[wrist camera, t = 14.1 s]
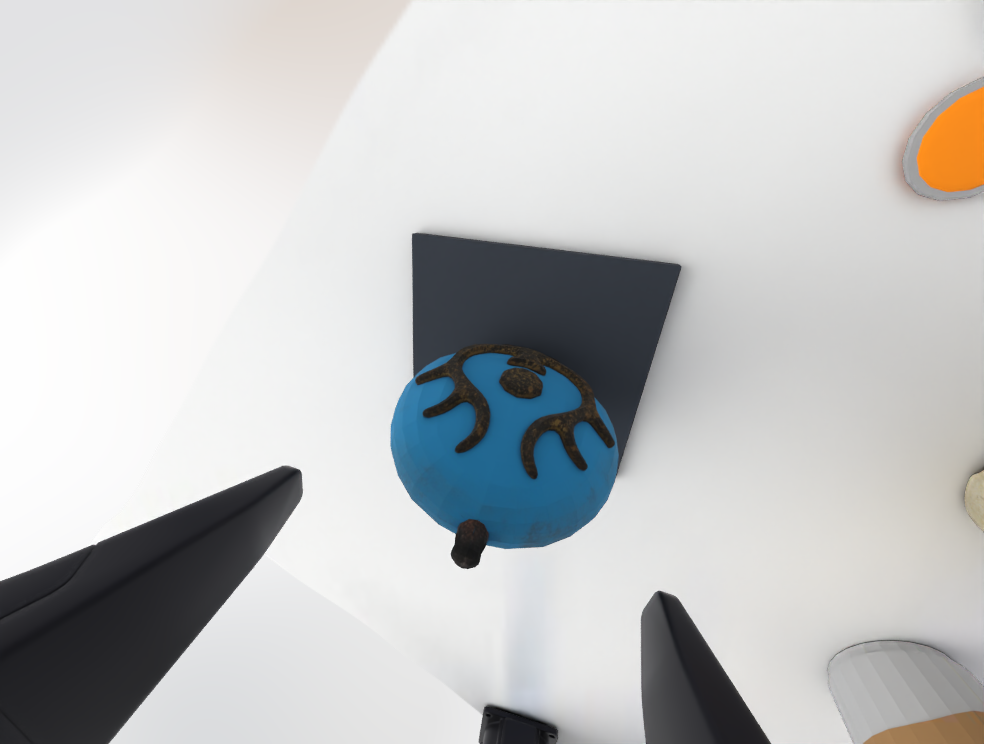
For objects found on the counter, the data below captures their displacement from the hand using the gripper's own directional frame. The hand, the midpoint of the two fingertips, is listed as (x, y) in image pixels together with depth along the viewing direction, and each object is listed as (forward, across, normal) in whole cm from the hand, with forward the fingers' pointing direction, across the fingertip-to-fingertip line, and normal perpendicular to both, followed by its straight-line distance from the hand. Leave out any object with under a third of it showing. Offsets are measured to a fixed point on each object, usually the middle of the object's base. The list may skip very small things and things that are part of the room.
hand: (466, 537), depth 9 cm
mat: (+10, 0, 0) cm, 10 cm away
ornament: (+10, 0, 0) cm, 10 cm away
